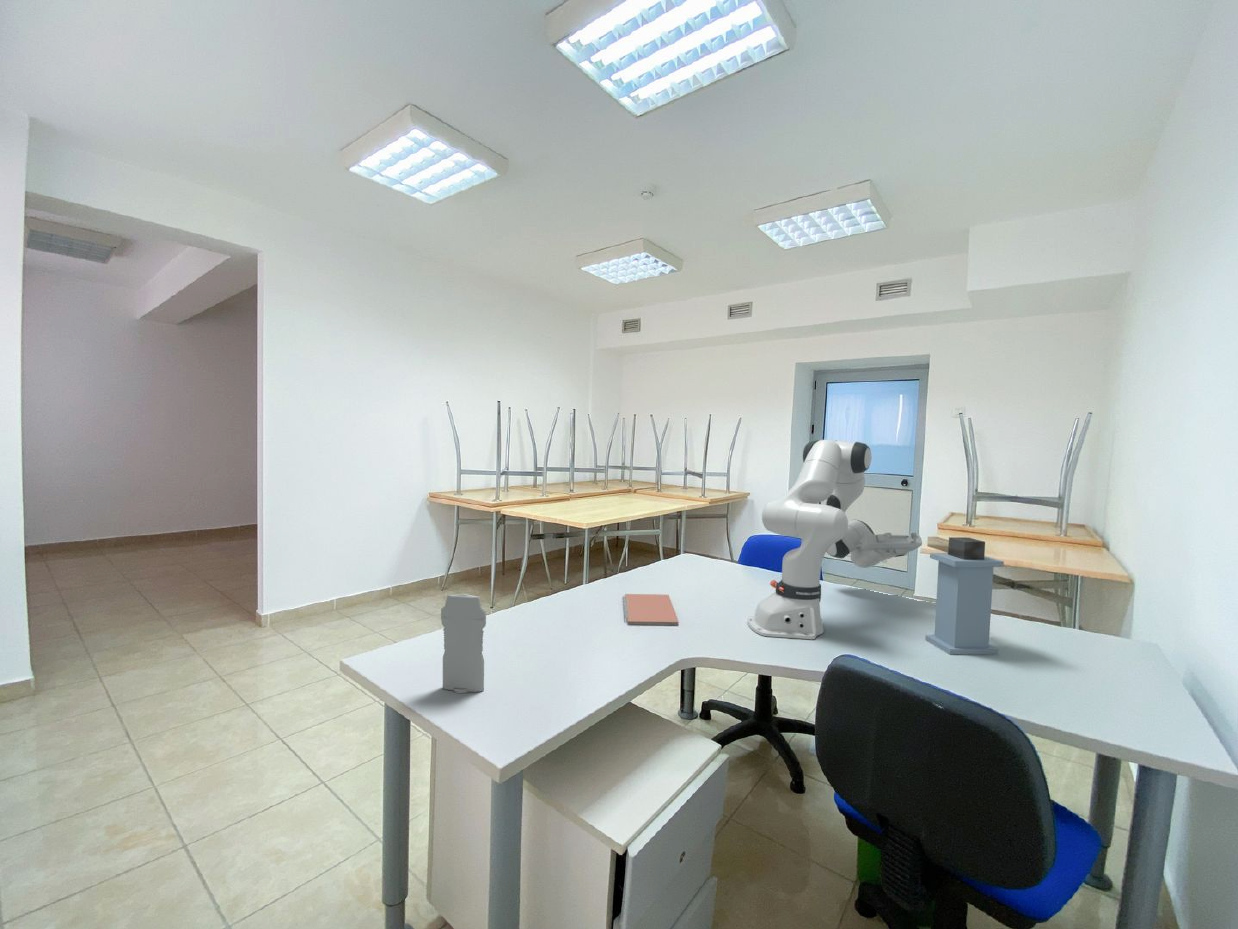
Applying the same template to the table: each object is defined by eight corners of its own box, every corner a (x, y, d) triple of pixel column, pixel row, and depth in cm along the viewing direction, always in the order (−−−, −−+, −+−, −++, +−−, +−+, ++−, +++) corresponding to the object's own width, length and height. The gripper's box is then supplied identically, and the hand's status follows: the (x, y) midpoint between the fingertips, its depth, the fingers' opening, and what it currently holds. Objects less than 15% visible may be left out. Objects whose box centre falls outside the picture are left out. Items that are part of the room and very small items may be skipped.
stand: (949, 654, 138) (955, 561, 137) (925, 640, 148) (930, 552, 147) (998, 654, 139) (1003, 561, 138) (970, 639, 149) (975, 553, 148)
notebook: (622, 598, 182) (622, 593, 182) (668, 599, 183) (668, 593, 182) (624, 626, 155) (624, 620, 155) (678, 627, 155) (678, 621, 155)
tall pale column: (489, 686, 116) (489, 592, 114) (482, 695, 112) (482, 597, 110) (445, 682, 117) (445, 589, 116) (436, 691, 113) (436, 595, 112)
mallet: (963, 559, 139) (964, 541, 139) (922, 546, 156) (923, 530, 156) (984, 559, 139) (985, 541, 139) (941, 546, 156) (942, 530, 156)
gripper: (851, 538, 183) (871, 526, 171) (905, 538, 185) (928, 526, 173) (855, 555, 181) (875, 543, 168) (909, 555, 182) (933, 543, 170)
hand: (902, 534), depth 170 cm, fingers open, 8 cm apart
